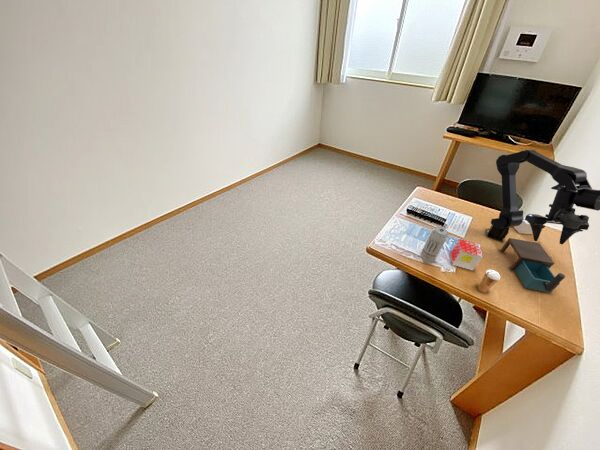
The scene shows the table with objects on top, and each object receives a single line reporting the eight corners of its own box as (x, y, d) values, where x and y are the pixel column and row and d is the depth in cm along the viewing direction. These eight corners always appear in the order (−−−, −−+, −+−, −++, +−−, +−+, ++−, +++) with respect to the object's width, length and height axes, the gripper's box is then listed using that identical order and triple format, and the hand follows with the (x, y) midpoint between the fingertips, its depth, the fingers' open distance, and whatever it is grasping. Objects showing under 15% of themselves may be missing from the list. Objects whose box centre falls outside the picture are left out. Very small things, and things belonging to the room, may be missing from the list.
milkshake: (471, 284, 104) (484, 266, 98) (484, 284, 105) (497, 266, 98) (478, 294, 100) (492, 276, 94) (491, 293, 101) (506, 276, 95)
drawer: (513, 267, 113) (530, 247, 106) (536, 271, 112) (555, 251, 105) (529, 295, 102) (549, 274, 95) (555, 300, 101) (577, 279, 94)
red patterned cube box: (452, 264, 112) (460, 250, 107) (450, 252, 118) (459, 238, 113) (473, 270, 110) (482, 256, 105) (470, 257, 116) (479, 244, 111)
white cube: (512, 225, 137) (519, 216, 134) (523, 226, 137) (531, 217, 134) (519, 233, 133) (526, 223, 129) (531, 234, 133) (539, 224, 129)
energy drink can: (416, 257, 113) (430, 230, 104) (422, 250, 117) (436, 223, 107) (430, 265, 110) (446, 238, 101) (436, 258, 114) (451, 231, 104)
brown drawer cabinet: (499, 250, 121) (509, 237, 116) (528, 255, 120) (539, 243, 115) (510, 270, 112) (521, 257, 107) (542, 276, 111) (554, 263, 106)
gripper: (552, 205, 95) (536, 246, 99) (611, 211, 93) (592, 253, 97) (530, 199, 105) (517, 236, 110) (583, 204, 103) (567, 243, 108)
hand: (548, 242), depth 106 cm, fingers open, 9 cm apart
